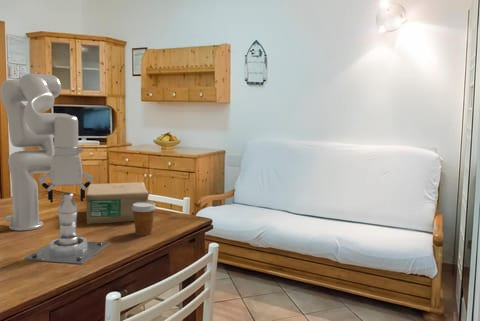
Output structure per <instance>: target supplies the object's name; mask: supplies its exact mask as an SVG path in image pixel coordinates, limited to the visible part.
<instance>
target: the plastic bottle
mask: <svg viewBox="0 0 480 321" xmlns="http://www.w3.org/2000/svg"><path fill="white" fill-rule="evenodd" d="M60 198H61V202H60V203H59V205H58V207H57V213H58V214H57V215H58V221H59V234H58V235H59V237H58V238H59V241H58V245H59V246H73V245H77V244H78V237H79V236H78V234H77V232H78V231H77V217H78V210H79V208H78V206H77V204H76V202H75V201H74V193H73V192H63V193H61V197H60Z"/></svg>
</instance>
